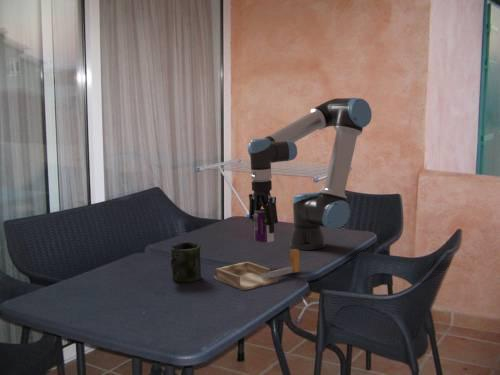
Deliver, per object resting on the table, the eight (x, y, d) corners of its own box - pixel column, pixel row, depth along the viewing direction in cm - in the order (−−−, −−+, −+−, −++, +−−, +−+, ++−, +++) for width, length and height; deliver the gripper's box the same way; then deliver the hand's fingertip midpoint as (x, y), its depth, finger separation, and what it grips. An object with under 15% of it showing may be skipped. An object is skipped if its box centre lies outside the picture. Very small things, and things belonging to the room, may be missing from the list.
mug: (207, 275, 219) (206, 243, 217) (187, 287, 206) (185, 253, 204) (182, 272, 224) (180, 241, 222) (160, 283, 210) (158, 250, 209)
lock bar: (295, 270, 219) (295, 248, 218) (299, 271, 218) (299, 249, 216) (260, 278, 209) (260, 256, 208) (264, 280, 208) (263, 257, 207)
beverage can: (271, 243, 225) (270, 212, 223) (253, 243, 226) (251, 212, 224) (274, 239, 232) (273, 208, 230) (256, 238, 233) (255, 208, 231)
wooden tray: (247, 270, 224) (246, 260, 224) (278, 281, 210) (278, 271, 209) (213, 278, 215) (213, 268, 215) (243, 290, 201) (243, 279, 200)
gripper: (237, 178, 231) (240, 237, 234) (270, 183, 215) (273, 246, 219) (253, 176, 235) (255, 233, 239) (286, 181, 220) (288, 242, 223)
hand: (264, 239), depth 229 cm, fingers closed on beverage can, 7 cm apart
